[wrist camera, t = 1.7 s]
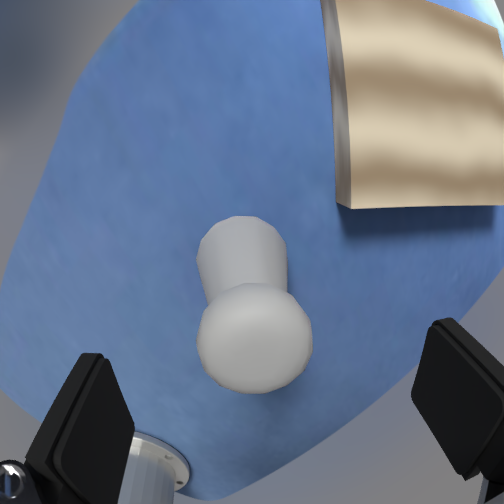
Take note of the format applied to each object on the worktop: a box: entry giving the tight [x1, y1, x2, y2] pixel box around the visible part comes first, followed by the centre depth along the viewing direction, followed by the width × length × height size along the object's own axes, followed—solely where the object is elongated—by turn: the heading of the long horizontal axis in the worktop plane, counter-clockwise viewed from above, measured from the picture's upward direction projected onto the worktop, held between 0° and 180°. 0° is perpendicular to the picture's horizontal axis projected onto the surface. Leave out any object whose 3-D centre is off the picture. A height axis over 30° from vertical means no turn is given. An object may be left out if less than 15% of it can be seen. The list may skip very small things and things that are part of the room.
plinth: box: [320, 0, 504, 209], centre depth 19 cm, size 16×16×3 cm
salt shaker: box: [196, 216, 313, 394], centre depth 17 cm, size 6×6×13 cm
